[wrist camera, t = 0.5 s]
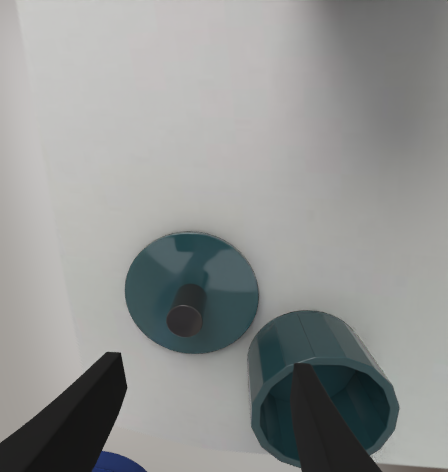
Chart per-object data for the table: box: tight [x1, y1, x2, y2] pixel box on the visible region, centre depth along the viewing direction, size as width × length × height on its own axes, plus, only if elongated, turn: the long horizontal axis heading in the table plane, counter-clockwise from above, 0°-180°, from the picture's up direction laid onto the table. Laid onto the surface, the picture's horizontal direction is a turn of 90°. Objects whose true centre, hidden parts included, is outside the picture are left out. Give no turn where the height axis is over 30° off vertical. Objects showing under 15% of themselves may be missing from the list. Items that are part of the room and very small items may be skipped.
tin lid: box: [125, 231, 259, 354], centre depth 20 cm, size 10×10×4 cm
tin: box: [247, 311, 399, 468], centre depth 21 cm, size 10×10×5 cm
